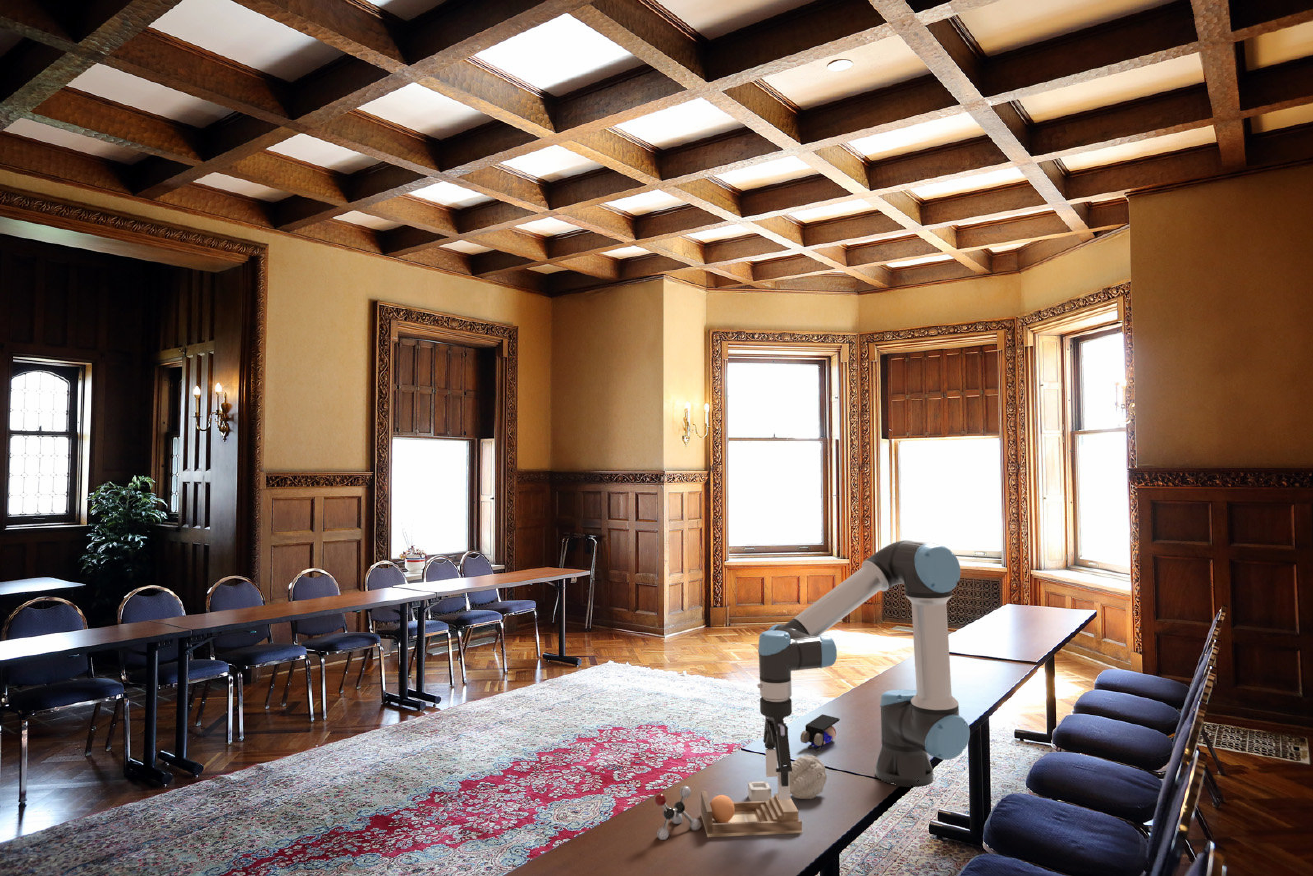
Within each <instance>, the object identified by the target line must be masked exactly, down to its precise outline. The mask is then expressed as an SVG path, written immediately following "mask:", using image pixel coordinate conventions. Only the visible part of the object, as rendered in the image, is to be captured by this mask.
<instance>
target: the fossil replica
mask: <svg viewBox="0 0 1313 876" xmlns="http://www.w3.org/2000/svg"><path fill="white" fill-rule="evenodd" d="M791 766H792V772H790V795H791V797H792V796H793V797H794V798H795V799H804V800H809V799H810V800H812V799H814V798H816V797H817V796H818V795H820V794H821V793H822V792H823V791H824V787H825V785H826V783H827V781H828V778H827V777H828V776H827V773H826V767H825V765H824V763H823V762H822V761H821V760H820V759H819V758H818V757H817V756H815V755H807V754H804V755H802V756H799V757H798V758H796V759H795V760H794V761H793V762H791Z"/></svg>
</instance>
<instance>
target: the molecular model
mask: <svg viewBox="0 0 1313 876" xmlns="http://www.w3.org/2000/svg"><path fill="white" fill-rule="evenodd" d="M691 794H692V790H691V788H690V787H689V786H688V785H682V786H681V788H680V789H679V795H680V800H678V801H676V802H675V803H674V805H673V808H672V807H670V806H669V805H667V798H666V795H664V793H657V794H656V795H655V796H654V803H655V805H656V806H658V807H661V808H662V809H663V811H662V815H663V818H664V823H663V826H662V827H660V828H659V829H658V830H657V831H656V832H657V833H656V836H657V838H658V839H659V840H660V841H661V840H662V841H664V840H667V839H668V838H669V835H670V834H669V830H668V829H667V827H668V823H669V820H671V822H672V823H673V824H674V825H680V824H681V823H682V822H683V816H684V817H685V819H687V820H688V821H689V828H690V830H693V831H698V830H700V829H701V827H702V822H701V821H700V820H699V819H698V818H692V817H691V816H690V815H689V814H688V813H687V812H686V811H685V810H686V806H685V803H684V801H685V799H688V798H689V797H691Z"/></svg>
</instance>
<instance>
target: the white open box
mask: <svg viewBox="0 0 1313 876" xmlns="http://www.w3.org/2000/svg"><path fill="white" fill-rule="evenodd" d="M747 797H748V799H749V802H751V801H770V797H772V789H771V786H770V785H769V782H768V781H748V782H747Z"/></svg>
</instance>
